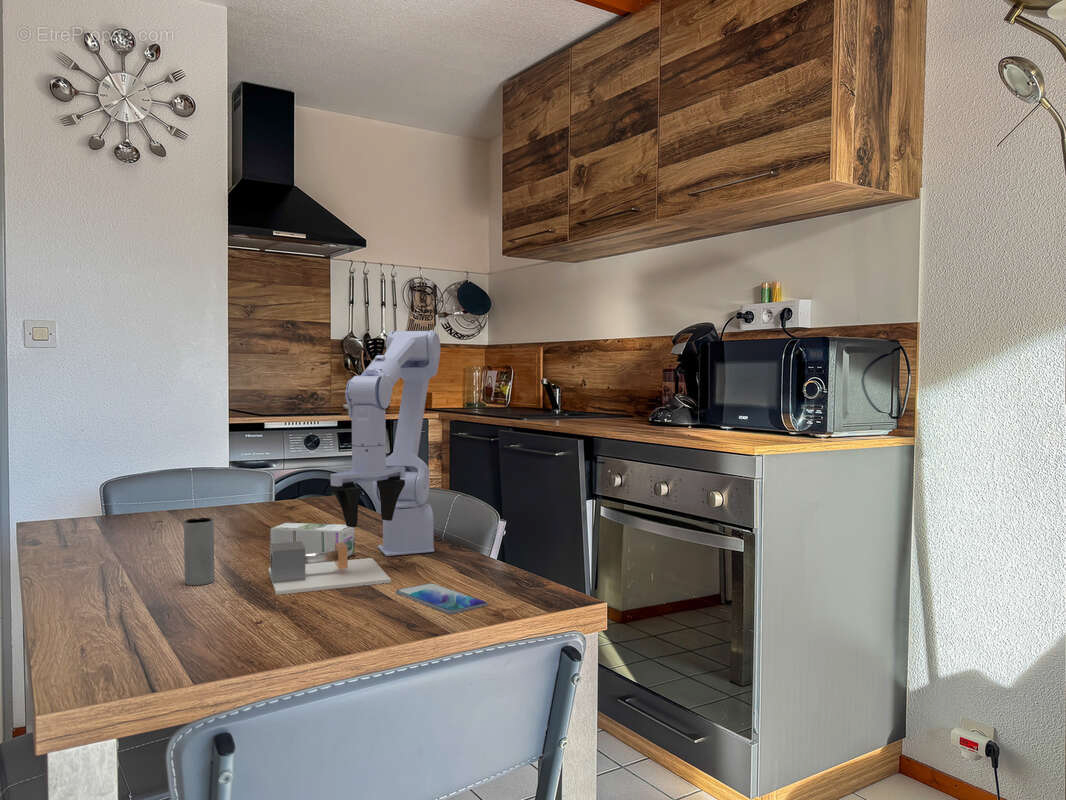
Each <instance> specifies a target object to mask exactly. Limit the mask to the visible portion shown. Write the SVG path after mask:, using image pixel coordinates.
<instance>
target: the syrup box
mask: <svg viewBox="0 0 1066 800" xmlns="http://www.w3.org/2000/svg"><path fill="white" fill-rule="evenodd" d="M355 533H356V532H355V527H354V528H353V527H348V526H346V524H338V523H337V524H335V523H334V524H333V523H332V524H331V523H309V522H307V523H306V522H305V523H304V522H283V523H281V524H279V525H275V526H273V527H270V534H269V535H270V538H269V542H270V544H274V543H286V542H298V541H301V542H302V544H303V546H304V547H305V553H315V552H327V551H335V543H342V542H344V543H345V545H346V546H347V547H348V557H349V556H352V555H353V554H355V548H356V547H355V546H356V543H355V542H356V537H355ZM270 544H269V545H270Z"/></svg>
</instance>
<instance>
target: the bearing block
mask: <svg viewBox="0 0 1066 800" xmlns="http://www.w3.org/2000/svg"><path fill="white" fill-rule="evenodd" d="M269 547H270V549H269V554H270V556H269V557H270V561H269V562H270V567H271V577H272V580H273V583H281V582H291V581H300V580H305V547H304V546H303V544H302V542H301V541H298V542H286V543H274V544H269ZM271 577H270V578H271Z"/></svg>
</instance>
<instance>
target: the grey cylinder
mask: <svg viewBox="0 0 1066 800" xmlns="http://www.w3.org/2000/svg"><path fill="white" fill-rule="evenodd" d="M214 521H215V520H214V519H213V518H212V517H194V518H187V519H186V520H184V521H183V557H184V560H183V561H184V565H183V567H184V583H185V585H188V586H203V585H208V584H212V583H214V581H215V531H214V530H215V529H214V528H215V526H214V525H215V524H214V523H215V522H214Z"/></svg>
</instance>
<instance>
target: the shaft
mask: <svg viewBox="0 0 1066 800" xmlns="http://www.w3.org/2000/svg"><path fill="white" fill-rule="evenodd" d="M348 557H349V556H348V547H347V546H346V545H345V543H344V542H342V543H335V551H327V552H315V553H305V564H314V563H325V562H335V565H336V566H337V567H338V569H346V568H348V560H349V559H348Z"/></svg>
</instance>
